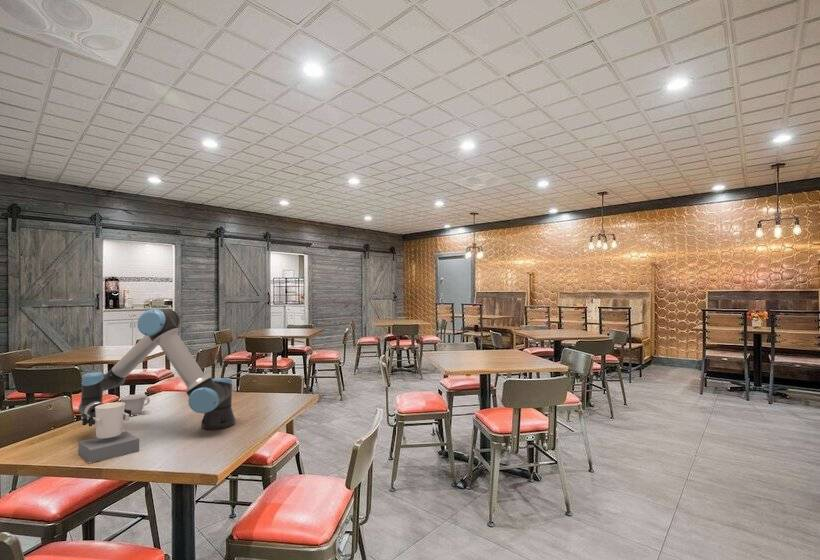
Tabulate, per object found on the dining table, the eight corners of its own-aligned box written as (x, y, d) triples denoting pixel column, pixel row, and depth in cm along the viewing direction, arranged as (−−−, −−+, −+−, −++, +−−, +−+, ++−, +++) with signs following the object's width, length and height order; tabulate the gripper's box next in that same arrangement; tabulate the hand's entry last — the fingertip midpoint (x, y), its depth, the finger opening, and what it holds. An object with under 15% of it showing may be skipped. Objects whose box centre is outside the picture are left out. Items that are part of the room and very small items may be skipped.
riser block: (125, 443, 170) (125, 431, 170) (139, 451, 160) (139, 438, 161) (78, 454, 157) (78, 441, 158) (89, 463, 148) (90, 450, 148)
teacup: (141, 418, 209) (141, 399, 209) (113, 418, 209) (114, 399, 210) (156, 412, 221) (156, 393, 221) (130, 412, 221) (130, 394, 222)
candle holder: (90, 440, 153) (91, 409, 153) (97, 433, 161) (98, 403, 162) (121, 436, 157) (122, 406, 158) (126, 430, 166) (127, 401, 167)
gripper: (126, 414, 179) (144, 423, 165) (64, 426, 162) (78, 437, 148) (127, 398, 180) (145, 405, 166) (65, 408, 163) (79, 417, 149)
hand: (113, 420), depth 157 cm, fingers closed on candle holder, 9 cm apart
